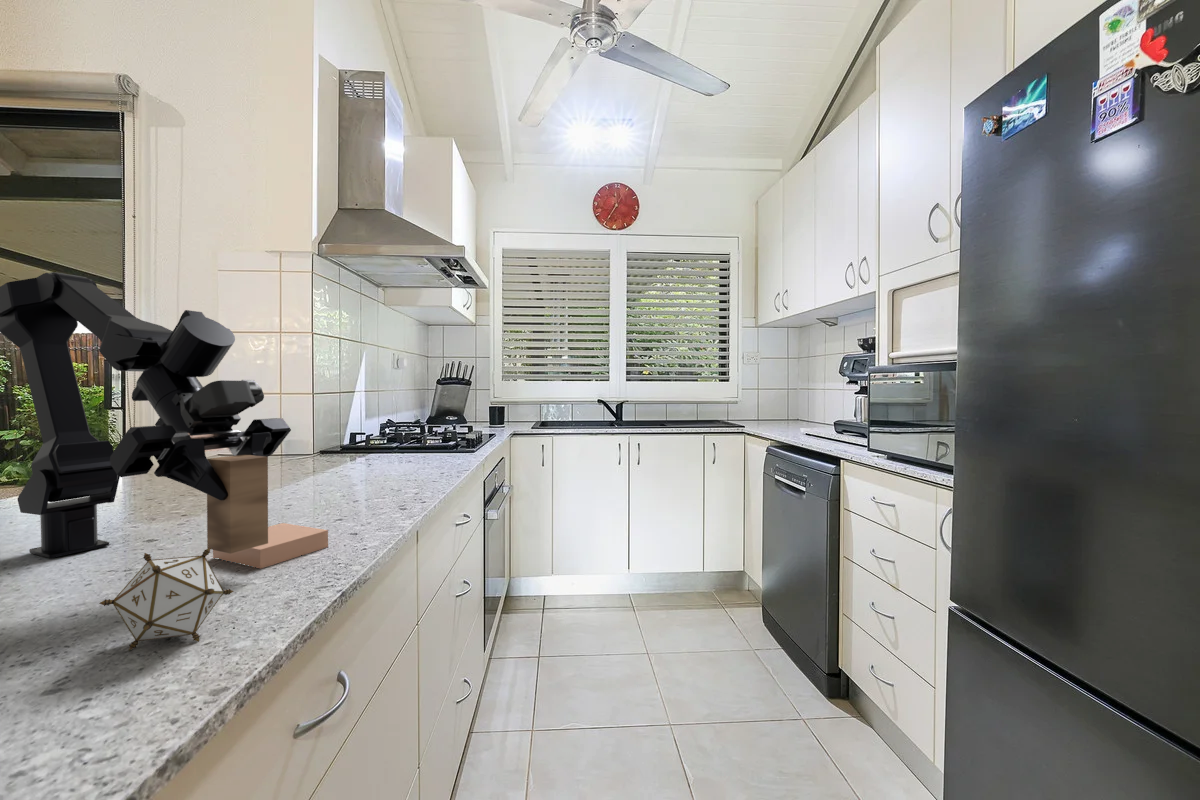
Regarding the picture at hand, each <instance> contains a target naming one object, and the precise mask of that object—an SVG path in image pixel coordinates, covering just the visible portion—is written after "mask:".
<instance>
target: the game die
mask: <svg viewBox="0 0 1200 800" xmlns="http://www.w3.org/2000/svg"><path fill="white" fill-rule="evenodd" d="M209 554H211V549H210V548H208V549H207V548H206V549H204V550H203V551H202V554H201V555H195V556H194V555H193V556H180V557H179V556H177V557H169V558H156V559H152V556H151V554H149V553H146V552H144V555H143V557H142V558H143V559H144V561H146V563H145V564H144V565H143V566H142V567H141V569H139V571H138V572H136V574H135V575H134V577H132V579H130V581H129V582H127V584H126V585H125V586H124V588H122V590H121V591H120V592H119V593H118V594H117V595H116V597H115V598H114V599H110V598H109V599H106V598H105V599H104V600H102V601H100V602H98V605H99V604H100V605H102V606H103V607H105V606H110V605H113V607H114V608H115V610H116V611H117V613H118V615H119V616H120V618H121V619H122V621H123V622H124V624H125V626H126V627H127V629H128V631H129V633H130V634H131V635H132V637H133V639H134V641H131V643H130V644H128V645H129V648H128V652H129V651H131V650H133V649H136V648H137V646H138V645H139V642H143V641H150V640H160V639H166V638H167V639H168V638H174V637H175V638H177V637H184V636H191V639H193V640H192V641H196V642H200V638H201V635H200V634H199V633H197V631H198V629H199V628H200V627H201V625H202V624H203V623H204V621H205V620H206V619H207V617H208V616H209V614H210V613H211V611H212V610H213V609H214V607H215V605H217V603H218V602H219V600H220V599H221V597H222V596H223V595H225V596H227V595H228V596H229V595H231V594H232V593H234V592H235V591H234V590H232V589H231V588H228V589H227V588H225V589H223V587H222V586H221V584H220V581H219V580H218V578H217V576H216V574H215V573H214V571H213V569H212V567H211V566H210V563H209V562H208V559H207V558H206V557H207V556H209Z"/></svg>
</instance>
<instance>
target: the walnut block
mask: <svg viewBox="0 0 1200 800" xmlns="http://www.w3.org/2000/svg"><path fill="white" fill-rule="evenodd" d="M268 459H269V456H268V457H265V456H254V455H237V456H233V455H229V456H221V457H219V456H218V457H211V458H207V460H208V461H209V463H210V464H211V466H212V467H213V469H214V470H215V472H216V473H217V475H218V476H219V478H220V479H221V481H222V482H223V484H224V486H225V488H226V490H227V492H228V496H227V498H226V499H225V500H219V499H216V498H214V497H212V496H210V495H208V494H206V521H207V522H206V523H207V524H206V529H207V533H206V535H207V536H206V539H207V540H206V541H207V542H206V546H207V548H206V549H208V548H210V550H212V551H213V550H216V551H221V552H225V553H230V554H231V553H235V552H239V551H242V550H246V549H250V548H253V547H257V546H260V545H264V544H268V527H269V465H268V464H269V462H268V461H269V460H268Z"/></svg>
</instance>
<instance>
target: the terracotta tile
mask: <svg viewBox="0 0 1200 800" xmlns="http://www.w3.org/2000/svg"><path fill="white" fill-rule="evenodd" d="M326 548H329V530H328V529H322V528H316V527H311V526H302V525H297V524H291V523H286V522H285V523H284V522H280V523H277V524H274V525H270V526H269V525H268V544H264V545H260V546H257V547H253V548H250V549H246V550H242V551H239V552H235V553H231V554H230V553H225V552H221V551H216V550H212V558H219V559H222V560H221V561H223V560H226V561H225V562H227V561H231V562H230V563H232V562H236V563H241V564H245V565H244V566H246V565H249V566H248V567H250V566H253V567H252V568H255V567H256V569H261V570H262V569H264V568H267V567H270V566H273V565H277V564H279V563H282V562H285V561H289V560H292V559H295V558H299V557H301V555H302V556H305V555H307V554H311V553H314V552H317V551H321V550H323V549H326ZM236 563H235V564H236ZM241 564H240V565H241Z"/></svg>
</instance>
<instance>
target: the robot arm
mask: <svg viewBox="0 0 1200 800" xmlns="http://www.w3.org/2000/svg"><path fill="white" fill-rule="evenodd" d="M97 285H98V284H97V283H96V282H95V281H94V280H93V279H89V278H88V277H86V276H82V275H74V274H69V273H62V272H58V271H56V272H55V271H52V272H45V273H44V272H43V273H42V274H40V275H38V276H37V277H32V278H31V277H30V278H25V279H19V280H13V281H9V282H6V283H3V284H2V285H1V286H0V334H2V336H5V338H7V339H8V340H9V341H10V342H12V344H14V345H15V346H16V347H18V348H19V350H20V353H21V358H22V361H23V362H22V363H23V365H24V371H25V373H26V379H27V381H28V387H29V390H30V395H31V399H32V403H33V406H34V410H35V415H36V419H37V422H38V427H39V430H40V431H39V432H40V436H41V438H42V445H41V447H40V449H39V450H38V452H37V454H36V455H35V456H34V458H33V460H32V461H31V472H32V474H31V476H30V478H29V479H28V481H27V482H26V483H25V486H24V487H23V488H22V490H21V492H20V493H19V495H18V497H17V502H18V507H19V511H20V513H22V514H30V515H36V516H40V517H39V518H40V546H38V547H34V548H30V549H29V553H30V554H32V555H38V556H41V557H44V558H48V559H53V558H57V557H58V558H59V557H64V556H67V555H72V554H76V553H81V552H84V551H90V550H96V549H99V548H104V547H108V546H110V541H107V540H101V539H98V508H97V507H98V505H100V504H107V503H108V504H110V503H114V502H115V500H116V496H117V492H118V487H119V482H120V478H125V477H132V476H139V475H146V474H148V473H149V472H150V470H152V468H153V466H154V462H153V461H152V460H151V458H152V457H154V458H155V460H156V462H157V464H158V466H157V467H156V469H155V471H153V474H154V475H155V476H156V477H157V478H161V477H162V478H163V477H164V478H167V479H171V480H173V481H175V482H178V483H181V484H183V485H186V486H189V487H190V488H193V489H195V490H198V491H199V492H202V493H204V494H205V495H207V494H208V495H210V496H212V497H214V498H216V499H219V500H225V499H226V498H227V496H228V492H227V490H226V488H225V486H224V484H223V482H222V481H221V479H220V478H219V476H218V475H217V473H216V472H215V470H214V469H213V467H212V466H211V464H210V463H209V461H208V460H207V459H208V458H207V456H206V453H207V452H209V453H210V452H216V451H217V452H218V451H226V450H228V451H229V452H230V453H231V455H232V456H237V455H254V456H265V457H268V458H269V456H272V455H273V454H274V453H275V452H276V450H278V448H279V446H280V445H281V444H282V443H283V441H284V440H285V439H286V438H287V436H288V435H289V434H290V432H291V431H292V429H291V427H290V426H289V425H288V423H287V422H286V421H285V419H284V418H281V417H276V418H274V417H273V418H258V419H257V418H255V419H252V421H251V422H250V424H249V425H248V426H247V428H246V430H244V431H240V430H239V429H234V430H233V428H232V427H233V426H237V425H238V424H239V423H240V421H241V419H242V418H241V417H240V415H239V414H240V413H242V412H244V411H245V410H247V409H249V408H253V407H255V406H257V405H258V404H259V403H261V402H263V401H264V398H265V394H264V391H263V389H262V387H261V385H260V384H259V383H257V381H255V379H241V380H221V379H220V380H214V381H212V382H209V383H207V384H206V385H204V386H203V385H202V383H201V382H200V381H199V379H198V378H204V377H210V376H211V375H212V374H213V373H214V372H215V370H216V369H217V367H218V366H219V364H221V362H222V361H223V359H224V358H225V356H226V355H227V353H228V352H229V351H230V349H231V347H233V345H234V343H235V342H236V337H235V335H234V332H233V331H232V330H231V329H230V328H227V327H225V326H224V325H222V324H221V323H220V322H218V321H216V320H214V319H211V318H209V317H206V315H205V314H204V313H203V312H202V311H195V310H188V309H185V310H184V311H183V312H182V314H181V315H180V318H179V320H178V322H177V324H176V325H175V327H174V328H173V330H171V329H169V328H166V327H165V326H162V325H159V324H156V323H154V322H153V323H152V322H149V321H145V320H143V319H140V318H138V317H136V316H135V315H133V314H132V313H131V312H130V311H128V310H127V309H126V308H125V307H123V306H122V305H121V304H120V303H118V302H117V301H116V300H114V299H113V298H112V297H111V296H110V295H108V294H107V293H105V292H104V291H103V290H101V289H100V288H99V287H98V286H97ZM79 323H80V324H81V325H82V326H83V327H84V328H85V329H86V330H88V331H89V332H90V333H92V334H93V335H94V336H95V337H96V338H98V340H99V341H100V342H101V343H100V346H99V350H98V352H99V354H101V355H102V357H103V358H104V359H105V360H106V361H107V363H108V364H109V365H110V366H111V367H112V368H113V369H114V370H116V371H118V372H142V373H141V374H140V375H139V377H138V379H137V380H136V386H135V388H134V389H133V390H132V391H131V392H132V393H131V400H132V401H134V402H143V401H146V402H149V404H150V405H151V406H152V408H153V410H154V411H155V412H156V414H157V416H158V417H159V418H158V419H157V421H156V422H155V424H154V425H143V426H132V427H129V428H128V430H127V431H126V432H125V434H124V435H123V437H122V438H121V440H120V441H119V442H118V444H117V446H116V447H115V449H114V448H113V445H112V443H111V441H109V440H99V439H98V438H96V437H95V436H94V435H93V434H92V433H91V432H90V431H91V430H90V428H89V422H88V420H87V416H86V411H85V406H84V403H83V399H82V395H81V391H80V388H79V383H78V380H77V376H76V372H75V367H74V365H73V364H74V363H73V360H72V356H71V352H70V348H69V343H68V342H69V340H70V339H71V337H72V336H73V334H74V333H75V331H76V330H77V328H78V326H79V325H78V324H79Z"/></svg>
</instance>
